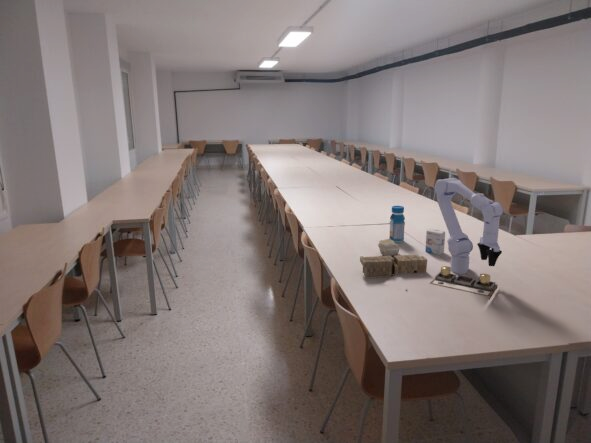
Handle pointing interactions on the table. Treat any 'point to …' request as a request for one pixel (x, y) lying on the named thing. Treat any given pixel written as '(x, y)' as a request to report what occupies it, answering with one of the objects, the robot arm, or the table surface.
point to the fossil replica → (388, 247)
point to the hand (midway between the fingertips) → (487, 262)
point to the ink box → (435, 241)
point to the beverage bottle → (397, 224)
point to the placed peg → (445, 272)
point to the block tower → (393, 265)
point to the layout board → (464, 284)
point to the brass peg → (484, 280)
